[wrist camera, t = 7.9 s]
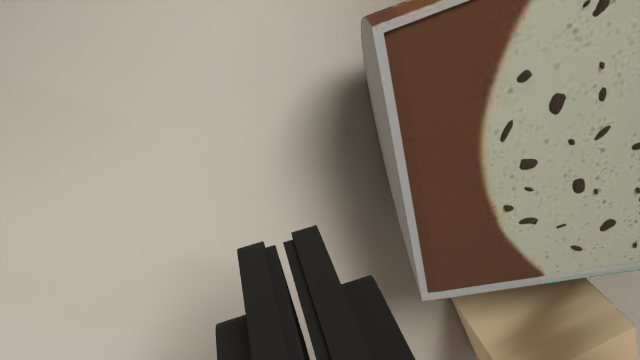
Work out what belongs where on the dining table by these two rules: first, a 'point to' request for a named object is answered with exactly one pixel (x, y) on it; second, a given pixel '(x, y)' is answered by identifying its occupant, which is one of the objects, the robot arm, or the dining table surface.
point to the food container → (509, 138)
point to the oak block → (547, 323)
